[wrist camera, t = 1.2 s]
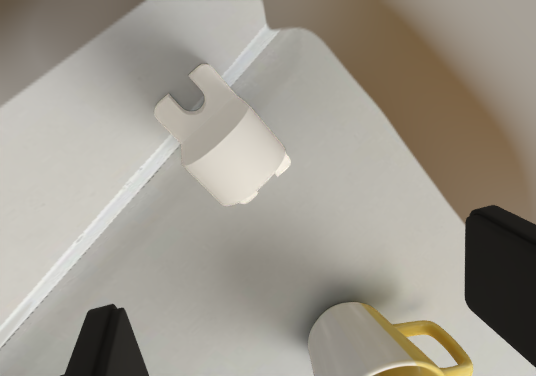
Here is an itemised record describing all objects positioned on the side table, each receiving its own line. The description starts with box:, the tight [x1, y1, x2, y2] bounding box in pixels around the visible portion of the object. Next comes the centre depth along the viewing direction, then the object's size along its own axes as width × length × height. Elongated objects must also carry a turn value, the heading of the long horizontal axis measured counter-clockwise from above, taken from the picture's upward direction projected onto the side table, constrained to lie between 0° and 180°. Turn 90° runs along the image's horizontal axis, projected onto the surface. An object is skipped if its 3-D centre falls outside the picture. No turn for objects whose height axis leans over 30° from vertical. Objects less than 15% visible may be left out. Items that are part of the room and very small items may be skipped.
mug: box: [308, 302, 473, 376], centre depth 35 cm, size 14×10×10 cm
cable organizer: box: [154, 64, 291, 206], centre depth 26 cm, size 5×10×10 cm, turn 40°
